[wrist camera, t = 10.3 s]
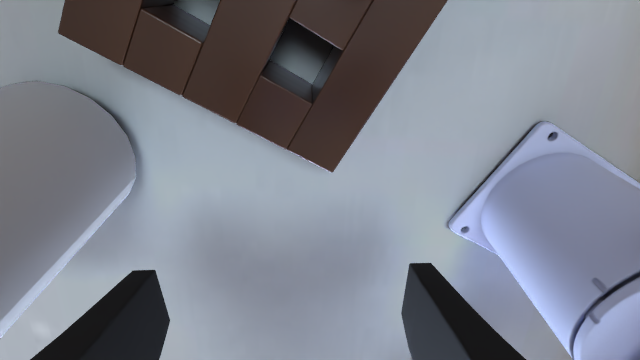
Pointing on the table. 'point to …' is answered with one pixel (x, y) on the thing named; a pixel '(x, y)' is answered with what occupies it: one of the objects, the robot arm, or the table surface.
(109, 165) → the can
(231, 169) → the table surface
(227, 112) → the pencil stand
